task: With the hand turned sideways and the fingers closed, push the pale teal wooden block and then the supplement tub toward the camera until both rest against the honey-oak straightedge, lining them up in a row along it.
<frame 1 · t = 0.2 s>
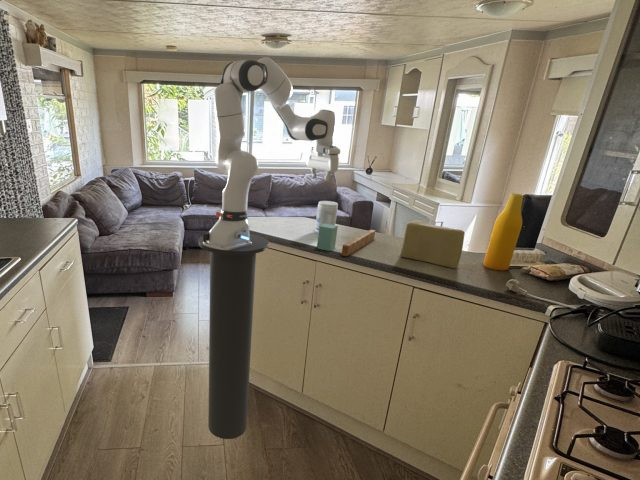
hand: (319, 179, 203), 25 cm above the worktop, tool pointing down, fingers open, 8 cm apart
beer bottle: (495, 267, 173), on the worktop
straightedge: (358, 246, 192), on the worktop
cheese: (429, 261, 177), on the worktop
supplement tub: (324, 232, 213), on the worktop
teal block: (325, 248, 188), on the worktop
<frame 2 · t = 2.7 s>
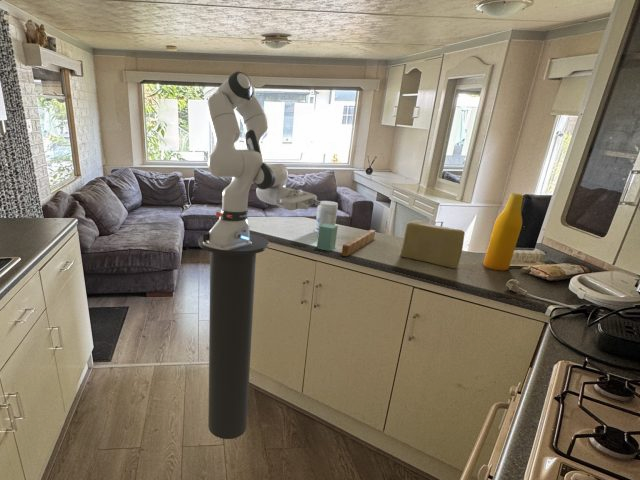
hand: (314, 205, 184), 18 cm above the worktop, tool horizontal, fingers open, 8 cm apart
nothing on the worktop moved.
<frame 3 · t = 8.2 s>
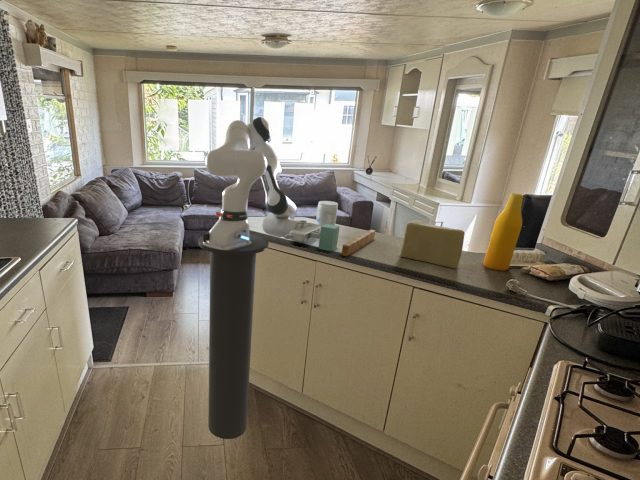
hand: (322, 235, 187), 5 cm above the worktop, tool horizontal, fingers closed, pressing on teal block
teal block: (327, 248, 188), on the worktop, touching gripper
everything else where it was.
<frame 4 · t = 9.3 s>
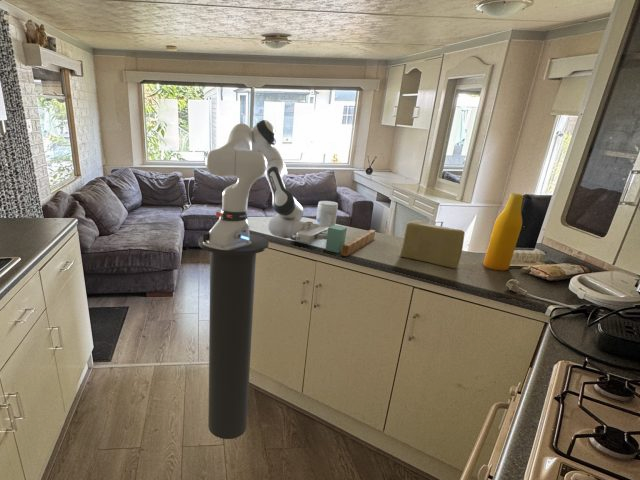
hand: (329, 237, 186), 5 cm above the worktop, tool horizontal, fingers closed, pressing on teal block
teal block: (334, 250, 186), on the worktop, touching gripper
everything else where it was.
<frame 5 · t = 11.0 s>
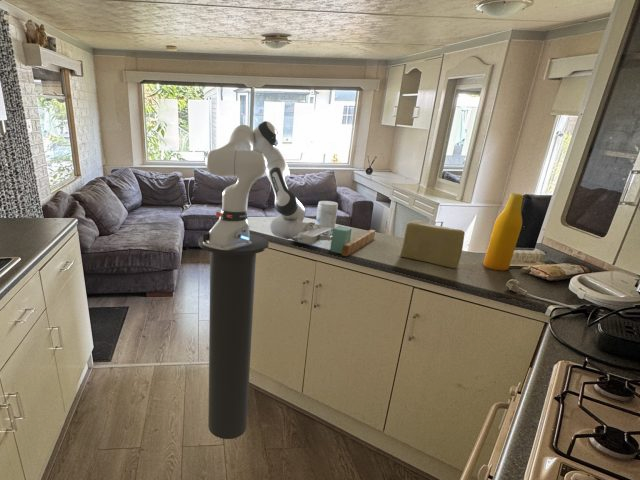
hand: (331, 238, 185), 5 cm above the worktop, tool horizontal, fingers closed
teal block: (339, 251, 185), on the worktop, touching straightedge
everything else where it was.
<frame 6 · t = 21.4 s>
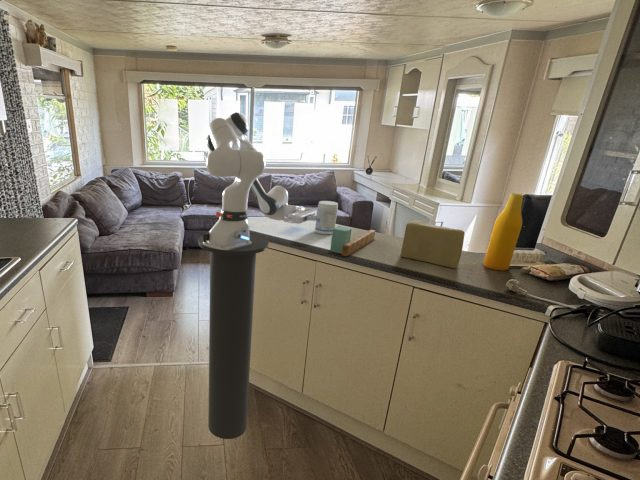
hand: (317, 218, 213), 6 cm above the worktop, tool horizontal, fingers closed, pressing on supplement tub
supplement tub: (324, 232, 213), on the worktop, touching gripper
teal block: (339, 251, 185), on the worktop
everything else where it was.
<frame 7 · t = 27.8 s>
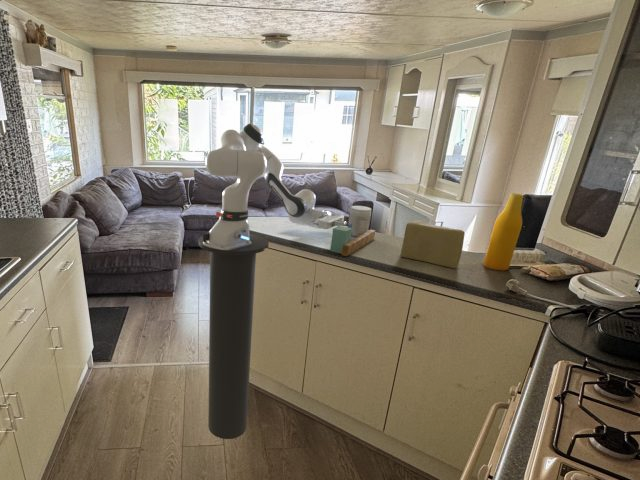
hand: (345, 224, 206), 6 cm above the worktop, tool horizontal, fingers closed
supplement tub: (356, 238, 205), on the worktop
everything else where it was.
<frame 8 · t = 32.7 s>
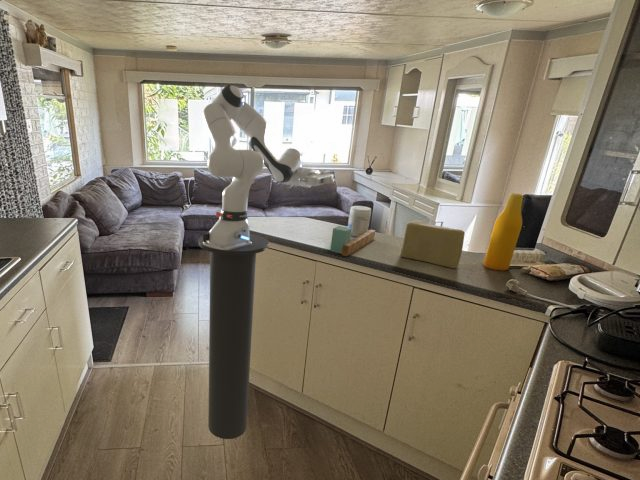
hand: (334, 181, 202), 25 cm above the worktop, tool horizontal, fingers closed
nothing on the worktop moved.
at the end: teal block inside the target area on the worktop beside the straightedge (1.6 cm from its centre), on the worktop; supplement tub inside the target area on the worktop beside the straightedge (1.3 cm from its centre), on the worktop; teal block tilted 0° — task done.
